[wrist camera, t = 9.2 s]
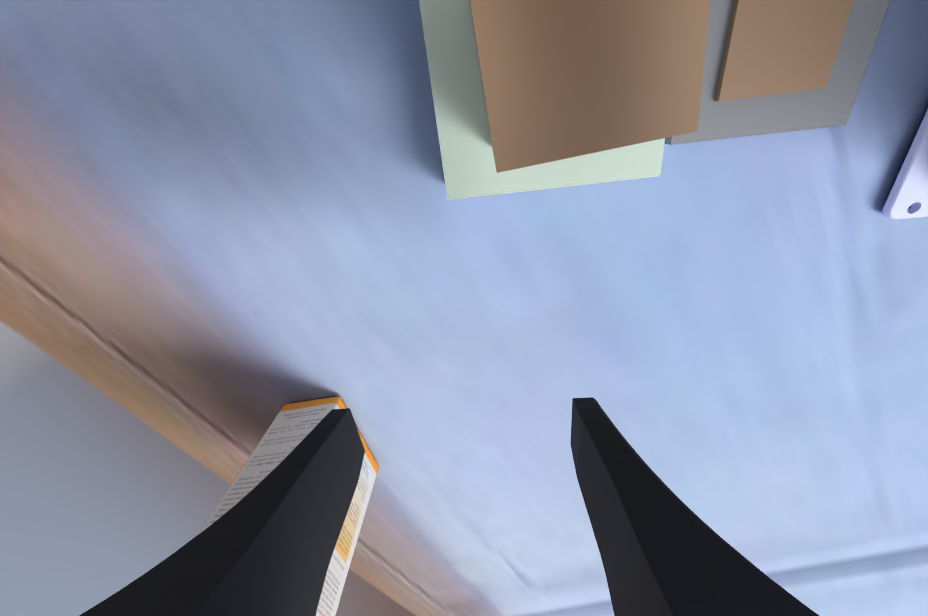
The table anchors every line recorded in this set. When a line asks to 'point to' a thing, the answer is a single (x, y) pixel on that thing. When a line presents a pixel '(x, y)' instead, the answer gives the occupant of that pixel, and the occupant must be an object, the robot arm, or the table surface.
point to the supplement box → (272, 451)
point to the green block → (469, 127)
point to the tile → (783, 65)
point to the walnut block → (587, 74)
